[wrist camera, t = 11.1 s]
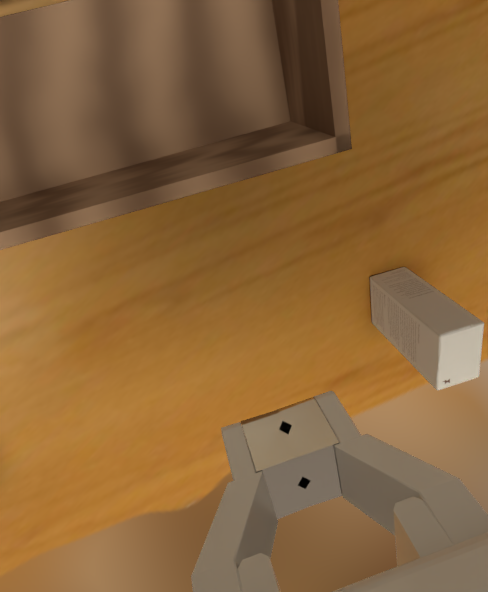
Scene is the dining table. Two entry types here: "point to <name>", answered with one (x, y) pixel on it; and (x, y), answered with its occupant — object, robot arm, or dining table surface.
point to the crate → (159, 103)
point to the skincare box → (427, 327)
